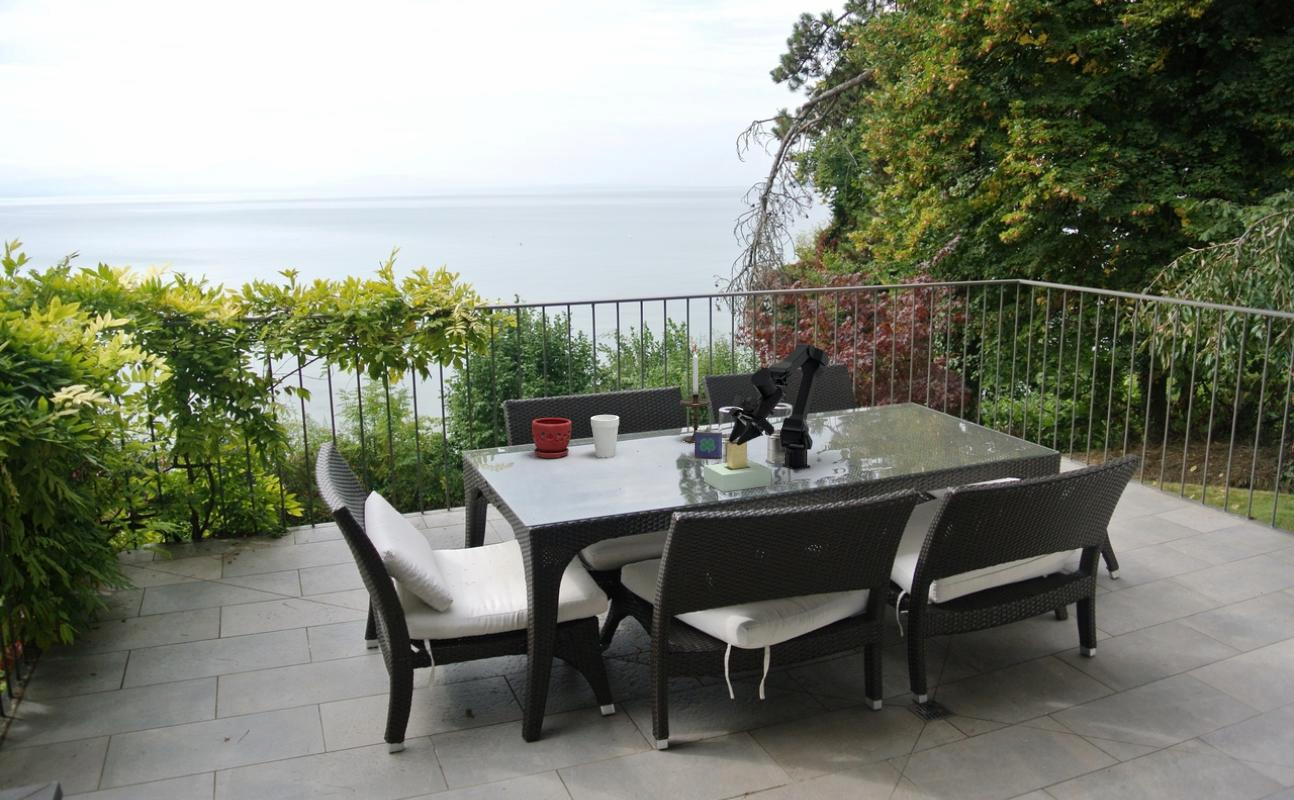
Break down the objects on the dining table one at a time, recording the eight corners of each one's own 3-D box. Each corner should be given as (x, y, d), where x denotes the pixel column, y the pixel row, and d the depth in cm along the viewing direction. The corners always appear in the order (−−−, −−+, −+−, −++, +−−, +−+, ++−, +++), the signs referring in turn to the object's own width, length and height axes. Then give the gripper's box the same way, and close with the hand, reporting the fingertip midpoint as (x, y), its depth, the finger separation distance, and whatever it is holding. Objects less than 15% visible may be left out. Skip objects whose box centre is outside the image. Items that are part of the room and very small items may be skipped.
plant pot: (562, 461, 312) (561, 425, 310) (526, 458, 317) (525, 423, 314) (578, 452, 324) (577, 417, 322) (543, 449, 329) (542, 415, 326)
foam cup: (588, 458, 315) (587, 420, 313) (596, 451, 324) (595, 414, 322) (615, 459, 313) (614, 421, 311) (622, 453, 322) (622, 415, 320)
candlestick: (709, 444, 332) (709, 345, 326) (678, 443, 334) (678, 345, 327) (712, 437, 343) (712, 341, 336) (682, 437, 344) (681, 341, 338)
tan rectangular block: (741, 482, 286) (741, 440, 283) (746, 484, 283) (747, 442, 281) (727, 484, 284) (727, 442, 281) (732, 487, 281) (732, 444, 279)
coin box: (750, 475, 292) (751, 459, 291) (770, 485, 281) (771, 468, 280) (704, 481, 286) (704, 465, 285) (722, 491, 275) (722, 475, 274)
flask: (722, 457, 315) (722, 425, 313) (721, 459, 312) (721, 427, 310) (695, 456, 317) (694, 424, 315) (693, 458, 314) (693, 426, 312)
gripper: (734, 380, 288) (701, 420, 286) (765, 390, 271) (731, 432, 269) (756, 404, 292) (725, 442, 290) (789, 415, 275) (755, 456, 273)
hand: (733, 443), depth 280 cm, fingers open, 4 cm apart
